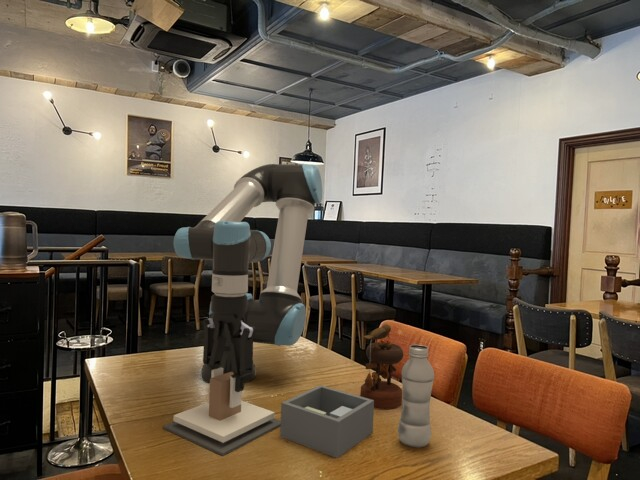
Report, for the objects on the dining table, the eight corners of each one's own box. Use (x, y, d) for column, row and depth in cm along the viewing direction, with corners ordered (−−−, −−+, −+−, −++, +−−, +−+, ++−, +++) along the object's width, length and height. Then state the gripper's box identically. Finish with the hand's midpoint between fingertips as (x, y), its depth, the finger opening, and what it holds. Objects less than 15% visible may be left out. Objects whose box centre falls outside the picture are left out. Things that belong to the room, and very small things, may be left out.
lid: (173, 425, 97) (174, 377, 96) (226, 404, 109) (227, 361, 108) (223, 448, 88) (224, 395, 88) (274, 422, 100) (276, 376, 100)
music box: (388, 415, 107) (386, 329, 108) (349, 407, 114) (346, 326, 114) (416, 397, 120) (413, 320, 120) (378, 390, 126) (376, 317, 127)
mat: (162, 428, 96) (162, 425, 96) (226, 403, 111) (226, 401, 111) (222, 456, 86) (222, 453, 86) (284, 424, 101) (284, 421, 101)
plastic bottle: (393, 436, 97) (398, 342, 96) (425, 436, 97) (429, 343, 97) (401, 451, 90) (406, 351, 90) (435, 451, 91) (440, 351, 90)
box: (280, 436, 95) (281, 402, 95) (319, 414, 106) (320, 385, 106) (337, 458, 87) (338, 421, 87) (372, 432, 98) (374, 400, 98)
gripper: (187, 290, 100) (183, 396, 100) (248, 301, 89) (244, 419, 90) (213, 287, 106) (210, 387, 107) (273, 297, 95) (269, 407, 96)
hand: (225, 401), depth 98 cm, fingers open, 5 cm apart
